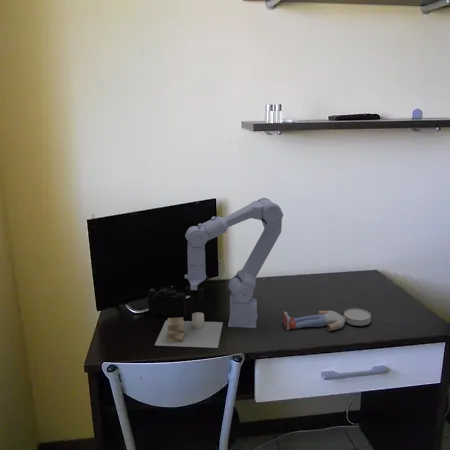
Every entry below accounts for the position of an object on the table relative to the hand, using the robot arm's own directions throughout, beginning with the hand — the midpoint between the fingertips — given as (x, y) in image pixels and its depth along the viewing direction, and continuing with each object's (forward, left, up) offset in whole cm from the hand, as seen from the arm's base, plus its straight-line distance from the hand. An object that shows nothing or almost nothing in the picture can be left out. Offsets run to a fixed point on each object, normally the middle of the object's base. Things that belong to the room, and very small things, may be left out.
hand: (197, 301), depth 162 cm
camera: (+12, -12, -10) cm, 20 cm away
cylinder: (0, 0, -9) cm, 9 cm away
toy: (-44, -6, -10) cm, 45 cm away
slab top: (+6, +8, -6) cm, 12 cm away
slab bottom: (+6, +8, -9) cm, 14 cm away
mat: (+2, +4, -10) cm, 11 cm away
